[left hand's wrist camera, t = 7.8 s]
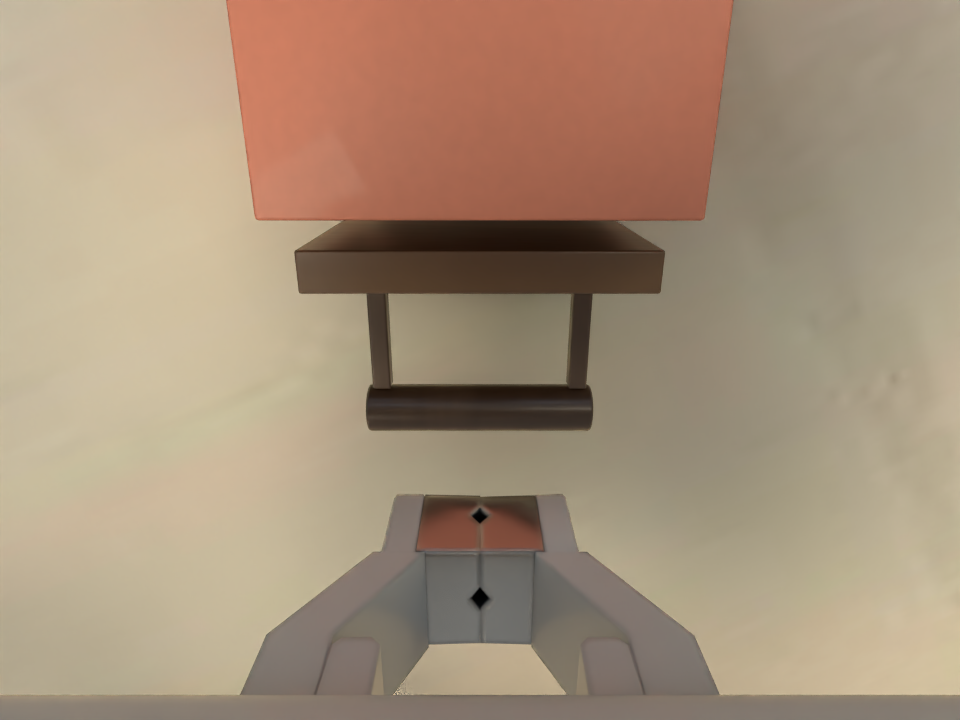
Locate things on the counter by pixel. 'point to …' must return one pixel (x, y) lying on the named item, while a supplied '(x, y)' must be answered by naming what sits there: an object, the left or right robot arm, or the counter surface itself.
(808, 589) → the counter surface
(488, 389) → the drawer
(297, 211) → the cabinet
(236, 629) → the counter surface
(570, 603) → the left robot arm
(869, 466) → the counter surface
